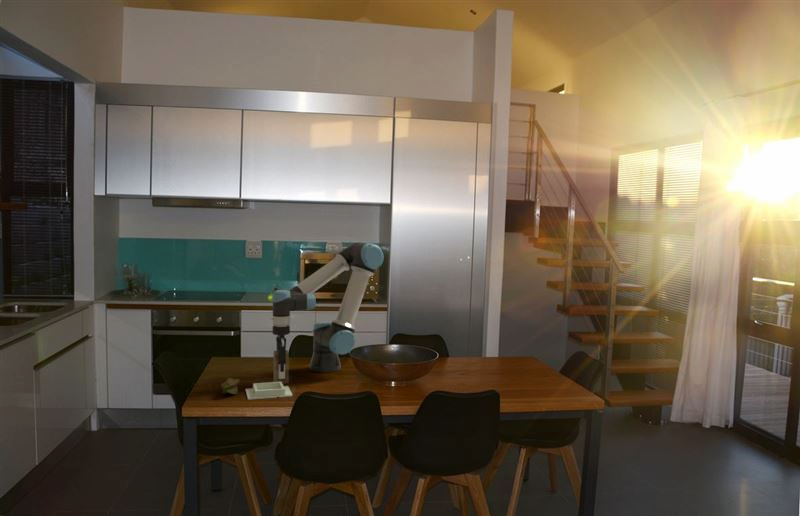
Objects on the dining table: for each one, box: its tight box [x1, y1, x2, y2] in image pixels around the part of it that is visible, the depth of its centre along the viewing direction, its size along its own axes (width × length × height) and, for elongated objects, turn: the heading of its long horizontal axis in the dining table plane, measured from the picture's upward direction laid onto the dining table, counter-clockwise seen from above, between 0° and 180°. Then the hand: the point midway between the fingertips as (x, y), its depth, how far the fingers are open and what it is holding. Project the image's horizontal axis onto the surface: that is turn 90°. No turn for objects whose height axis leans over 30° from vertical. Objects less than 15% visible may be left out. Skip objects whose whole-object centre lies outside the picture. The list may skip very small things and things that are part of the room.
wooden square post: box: [273, 349, 290, 385], centre depth 274 cm, size 6×5×14 cm
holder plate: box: [245, 381, 294, 401], centre depth 258 cm, size 18×14×3 cm
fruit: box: [220, 377, 241, 395], centre depth 257 cm, size 11×12×7 cm
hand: (281, 376), depth 274 cm, fingers closed on wooden square post, 5 cm apart
